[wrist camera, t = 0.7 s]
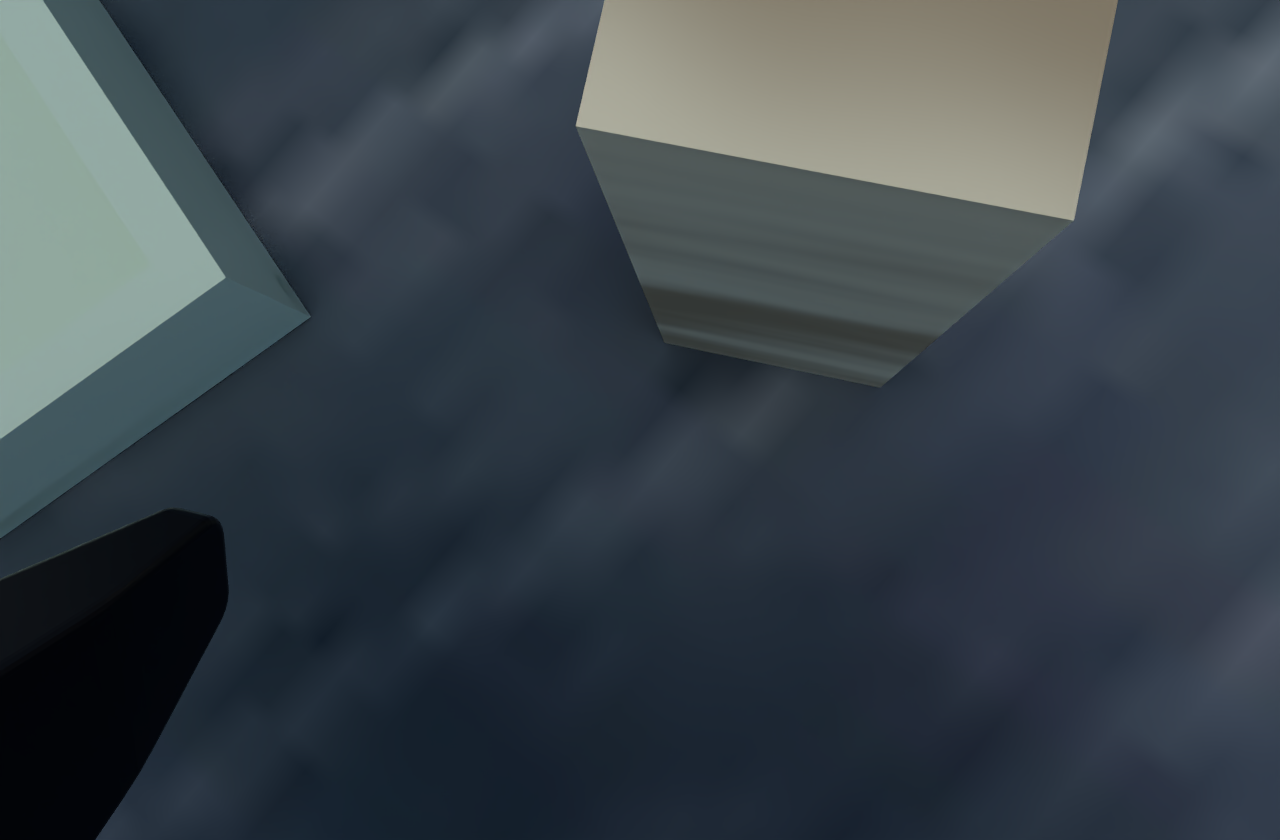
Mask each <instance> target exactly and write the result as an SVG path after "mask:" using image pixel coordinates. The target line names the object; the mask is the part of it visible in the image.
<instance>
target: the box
mask: <svg viewBox="0 0 1280 840" xmlns="http://www.w3.org/2000/svg"><path fill="white" fill-rule="evenodd" d="M310 317H311V316H310V315H309V313H308V312H307V310H306V309H305V307H304V306H303V304H302V303H301V301H300V300H299V298H298V297H297V295H296V294H295V292H294V291H293V289H292V288H291V286H290V285H289V283H288V282H287V280H286V279H285V277H284V276H283V274H282V273H281V271H280V270H279V268H278V267H277V265H276V264H275V262H274V261H273V259H272V258H271V256H270V255H269V253H268V252H267V250H266V249H265V247H264V246H263V244H262V243H261V241H260V240H259V238H258V237H257V235H256V234H255V232H254V231H253V229H252V228H251V226H250V225H249V223H248V222H247V220H246V219H245V217H244V216H243V214H242V213H241V211H240V210H239V208H238V207H237V205H236V204H235V202H234V201H233V199H232V198H231V196H230V195H229V193H228V192H227V190H226V189H225V187H224V186H223V184H222V183H221V181H220V180H219V179H218V177H217V176H216V174H215V173H214V171H213V170H212V168H211V167H210V165H209V164H208V162H207V161H206V159H205V158H204V156H203V155H202V153H201V152H200V150H199V149H198V147H197V146H196V144H195V143H194V141H193V140H192V138H191V137H190V135H189V134H188V132H187V131H186V129H185V128H184V126H183V125H182V123H181V122H180V120H179V119H178V117H177V116H176V114H175V113H174V111H173V110H172V108H171V107H170V105H169V104H168V102H167V101H166V99H165V98H164V96H163V95H162V93H161V92H160V90H159V89H158V87H157V86H156V84H155V83H154V81H153V80H152V78H151V77H150V75H149V74H148V72H147V71H146V69H145V68H144V66H143V65H142V63H141V62H140V60H139V59H138V57H137V56H136V54H135V53H134V51H133V50H132V48H131V47H130V45H129V44H128V42H127V41H126V39H125V38H124V36H123V35H122V33H121V32H120V30H119V29H118V27H117V26H116V24H115V23H114V21H113V20H112V18H111V17H110V15H109V14H108V12H107V11H106V9H105V8H104V6H103V5H102V3H101V2H100V0H0V538H2V537H3V536H5V535H6V534H7V533H9V532H10V531H12V530H13V529H14V528H16V527H17V526H19V525H20V524H21V523H23V522H24V521H26V520H27V519H28V518H30V517H31V516H33V515H34V514H35V513H37V512H38V511H40V510H41V509H42V508H44V507H45V506H47V505H48V504H49V503H51V502H52V501H54V500H55V499H56V498H58V497H59V496H61V495H62V494H63V493H65V492H66V491H68V490H69V489H70V488H72V487H73V486H75V485H76V484H77V483H79V482H80V481H82V480H83V479H85V478H86V477H87V476H89V475H90V474H92V473H93V472H94V471H96V470H97V469H99V468H100V467H101V466H103V465H104V464H106V463H107V462H108V461H110V460H111V459H113V458H114V457H115V456H117V455H118V454H120V453H121V452H122V451H124V450H125V449H127V448H128V447H129V446H131V445H132V444H134V443H135V442H136V441H138V440H139V439H141V438H142V437H143V436H145V435H146V434H148V433H149V432H150V431H152V430H153V429H155V428H156V427H157V426H159V425H160V424H162V423H163V422H164V421H166V420H167V419H169V418H170V417H171V416H173V415H174V414H176V413H177V412H178V411H180V410H181V409H183V408H184V407H185V406H187V405H188V404H190V403H191V402H192V401H194V400H195V399H197V398H198V397H199V396H201V395H202V394H204V393H205V392H206V391H208V390H209V389H211V388H212V387H213V386H215V385H216V384H218V383H219V382H220V381H222V380H223V379H225V378H226V377H227V376H229V375H230V374H232V373H233V372H234V371H236V370H237V369H239V368H240V367H241V366H243V365H244V364H246V363H247V362H249V361H250V360H251V359H253V358H254V357H256V356H257V355H258V354H260V353H261V352H263V351H264V350H265V349H267V348H268V347H270V346H271V345H272V344H274V343H275V342H277V341H278V340H279V339H281V338H282V337H284V336H285V335H286V334H288V333H289V332H291V331H292V330H293V329H295V328H296V327H298V326H299V325H300V324H302V323H303V322H305V321H306V320H307V319H309V318H310Z"/></svg>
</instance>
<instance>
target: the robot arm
mask: <svg viewBox="0 0 1280 840" xmlns="http://www.w3.org/2000/svg"><path fill="white" fill-rule="evenodd" d="M228 594H229V587H228V576H227V565H226V553H225V542H224V533H223V528H222V526H221V524H220V522H219V521H218V519H216V518H214V517H213V516H210V515H206V514H202V513H198V512H194V511H190V510H185V509H181V508H168V509H165V510H162V511H159V512H157V513H154V514H152V515H150V516H147V517H145V518H143V519H140V520H138V521H136V522H133V523H131V524H128V525H126V526H124V527H121V528H119V529H117V530H114V531H112V532H110V533H107V534H105V535H103V536H100V537H98V538H96V539H93V540H91V541H88V542H86V543H84V544H81V545H79V546H77V547H74V548H72V549H70V550H67V551H65V552H63V553H60V554H58V555H56V556H53V557H51V558H48V559H46V560H44V561H41V562H39V563H37V564H34V565H32V566H30V567H27V568H25V569H23V570H20V571H18V572H16V573H13V574H11V575H8V576H6V577H4V578H1V579H0V840H95V839H96V838H97V836H98V835H99V833H100V832H101V830H102V829H103V827H104V826H105V824H106V823H107V821H108V820H109V818H110V817H111V816H112V814H113V813H114V811H115V810H116V808H117V807H118V805H119V804H120V802H121V801H122V799H123V798H124V796H125V795H126V793H127V792H128V790H129V788H130V787H131V785H132V784H133V782H134V781H135V779H136V778H137V776H138V774H139V773H140V771H141V769H142V768H143V766H144V764H145V762H146V760H147V759H148V757H149V755H150V753H151V752H152V750H153V748H154V746H155V744H156V742H157V741H158V739H159V737H160V735H161V733H162V731H163V729H164V727H165V725H166V724H167V722H168V720H169V718H170V716H171V714H172V712H173V710H174V709H175V707H176V705H177V703H178V701H179V699H180V697H181V695H182V693H183V692H184V690H185V688H186V686H187V684H188V682H189V680H190V678H191V676H192V675H193V673H194V671H195V669H196V667H197V665H198V663H199V661H200V659H201V658H202V656H203V654H204V652H205V650H206V648H207V646H208V644H209V642H210V641H211V639H212V637H213V635H214V633H215V631H216V629H217V627H218V625H219V624H220V622H221V620H222V617H223V615H224V612H225V610H226V606H227V602H228Z"/></svg>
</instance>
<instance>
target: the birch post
mask: <svg viewBox="0 0 1280 840" xmlns="http://www.w3.org/2000/svg"><path fill="white" fill-rule="evenodd" d="M1117 2H1118V0H605V1H604V6H603V10H602V14H601V19H600V23H599V27H598V32H597V36H596V40H595V45H594V49H593V53H592V58H591V62H590V66H589V71H588V75H587V79H586V84H585V88H584V92H583V97H582V101H581V105H580V110H579V114H578V118H577V123H576V128H577V130H578V133H579V135H580V138H581V140H582V143H583V145H584V148H585V150H586V152H587V155H588V157H589V160H590V162H591V165H592V167H593V170H594V172H595V174H596V177H597V179H598V182H599V184H600V187H601V189H602V191H603V194H604V196H605V199H606V201H607V204H608V206H609V209H610V211H611V213H612V216H613V218H614V221H615V223H616V226H617V228H618V231H619V233H620V235H621V238H622V240H623V243H624V245H625V248H626V250H627V252H628V255H629V257H630V260H631V262H632V265H633V267H634V270H635V272H636V274H637V277H638V279H639V282H640V284H641V287H642V289H643V292H644V294H645V296H646V299H647V301H648V304H649V306H650V309H651V311H652V313H653V316H654V318H655V321H656V323H657V326H658V328H659V331H660V333H661V335H662V338H663V340H664V343H668V344H673V345H677V346H682V347H687V348H692V349H697V350H701V351H706V352H711V353H716V354H721V355H725V356H730V357H735V358H740V359H745V360H749V361H754V362H759V363H764V364H769V365H773V366H778V367H783V368H788V369H793V370H797V371H802V372H807V373H812V374H817V375H821V376H826V377H831V378H836V379H841V380H845V381H850V382H855V383H860V384H865V385H869V386H874V387H879V388H880V387H882V386H883V385H884V384H885V383H886V382H887V381H889V380H890V379H891V378H892V377H893V376H894V375H895V374H897V373H898V372H899V371H900V370H901V369H902V368H904V367H905V366H906V365H907V364H908V363H909V362H911V361H912V360H913V359H914V358H915V357H916V356H917V355H919V354H920V353H921V352H922V351H923V350H924V349H926V348H927V347H928V346H929V345H930V344H931V343H933V342H934V341H935V340H936V339H937V338H938V337H940V336H941V335H942V334H943V333H944V332H945V331H946V330H948V329H949V328H950V327H951V326H952V325H953V324H955V323H956V322H957V321H958V320H959V319H960V318H962V317H963V316H964V315H965V314H966V313H967V312H968V311H970V310H971V309H972V308H973V307H974V306H975V305H977V304H978V303H979V302H980V301H981V300H982V299H984V298H985V297H986V296H987V295H988V294H989V293H991V292H992V291H993V290H994V289H995V288H996V287H997V286H999V285H1000V284H1001V283H1002V282H1003V281H1004V280H1006V279H1007V278H1008V277H1009V276H1010V275H1011V274H1013V273H1014V272H1015V271H1016V270H1017V269H1018V268H1019V267H1021V266H1022V265H1023V264H1024V263H1025V262H1026V261H1028V260H1029V259H1030V258H1031V257H1032V256H1033V255H1035V254H1036V253H1037V252H1038V251H1039V250H1040V249H1042V248H1043V247H1044V246H1045V245H1046V244H1047V243H1048V242H1050V241H1051V240H1052V239H1053V238H1054V237H1055V236H1057V235H1058V234H1059V233H1060V232H1061V231H1062V230H1064V229H1065V228H1066V227H1067V226H1068V225H1069V224H1071V223H1072V222H1073V221H1074V217H1075V212H1076V207H1077V202H1078V197H1079V192H1080V187H1081V182H1082V177H1083V172H1084V167H1085V162H1086V157H1087V152H1088V147H1089V142H1090V137H1091V132H1092V127H1093V122H1094V117H1095V112H1096V107H1097V102H1098V97H1099V92H1100V87H1101V82H1102V77H1103V72H1104V67H1105V62H1106V57H1107V52H1108V47H1109V42H1110V37H1111V32H1112V27H1113V22H1114V17H1115V12H1116V7H1117Z"/></svg>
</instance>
